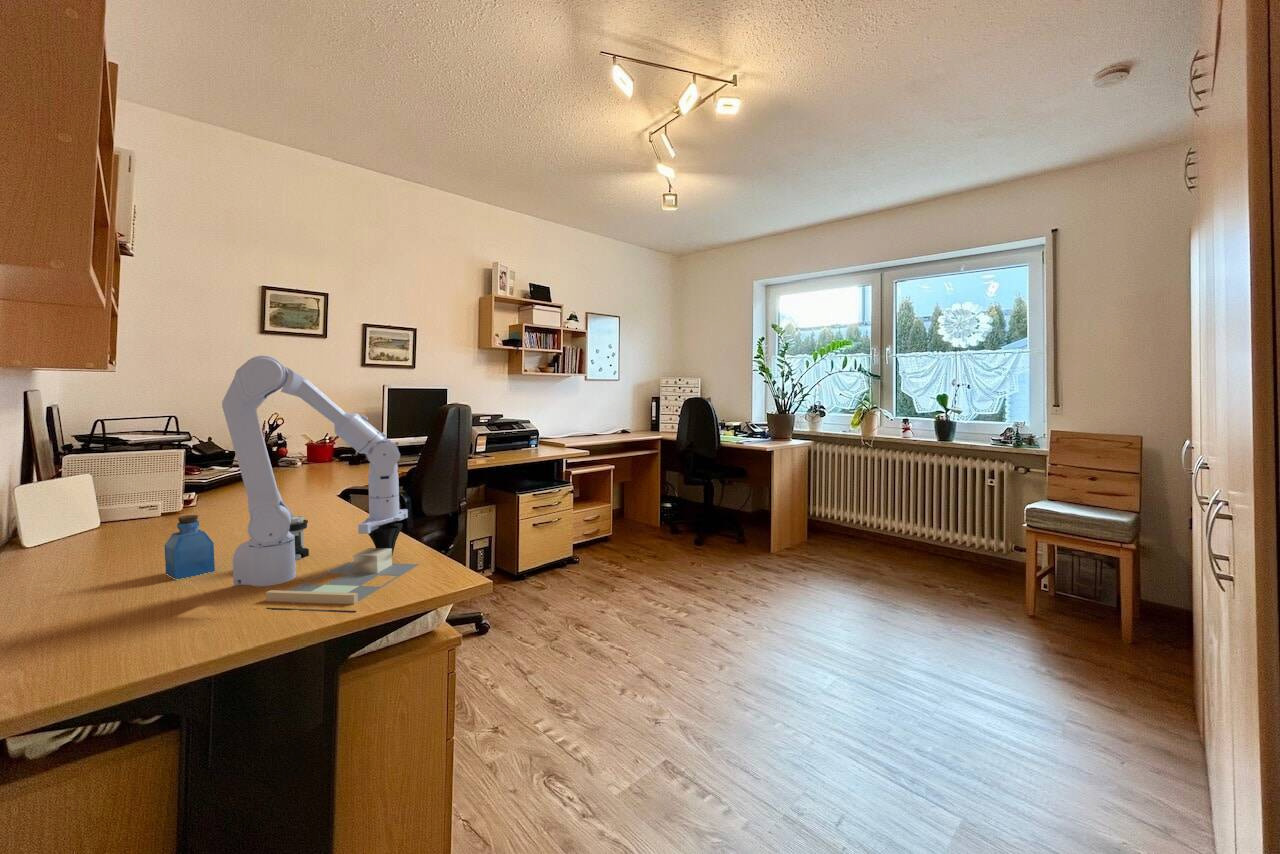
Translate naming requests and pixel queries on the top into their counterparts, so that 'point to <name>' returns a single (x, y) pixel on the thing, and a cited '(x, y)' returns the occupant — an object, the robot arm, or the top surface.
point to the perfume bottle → (189, 550)
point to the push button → (299, 536)
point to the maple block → (372, 560)
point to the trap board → (337, 587)
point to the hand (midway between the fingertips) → (385, 558)
